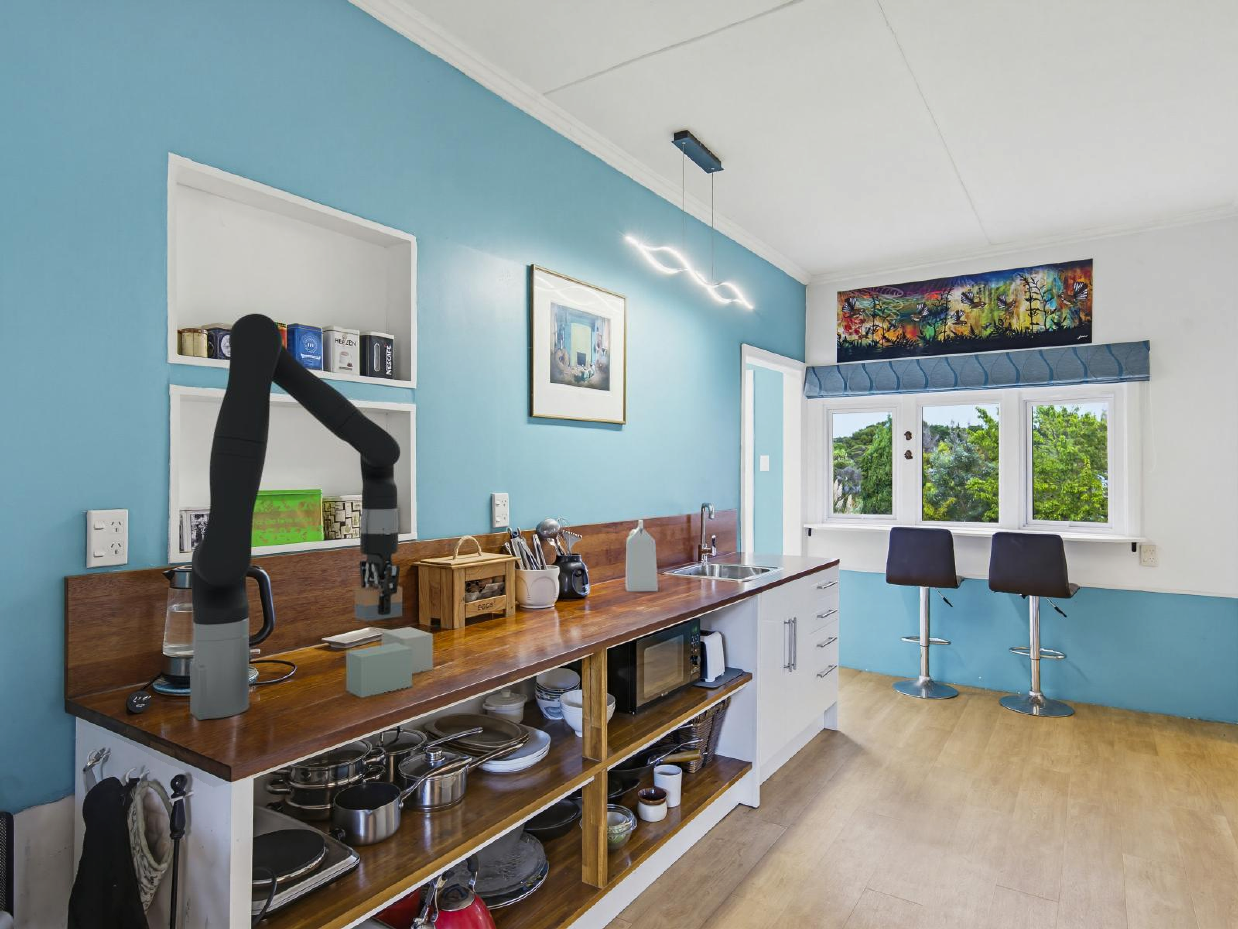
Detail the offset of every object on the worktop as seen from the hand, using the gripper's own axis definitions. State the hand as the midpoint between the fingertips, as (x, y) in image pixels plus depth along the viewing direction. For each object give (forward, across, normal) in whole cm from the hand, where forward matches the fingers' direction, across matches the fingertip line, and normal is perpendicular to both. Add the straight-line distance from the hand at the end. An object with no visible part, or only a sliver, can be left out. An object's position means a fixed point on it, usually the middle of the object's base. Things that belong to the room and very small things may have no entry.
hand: (378, 612), depth 154 cm
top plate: (-2, 0, 0) cm, 2 cm away
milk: (+14, -53, +131) cm, 142 cm away
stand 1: (+16, 0, 0) cm, 16 cm away
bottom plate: (+1, 0, 0) cm, 1 cm away
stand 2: (+16, -11, +12) cm, 23 cm away
